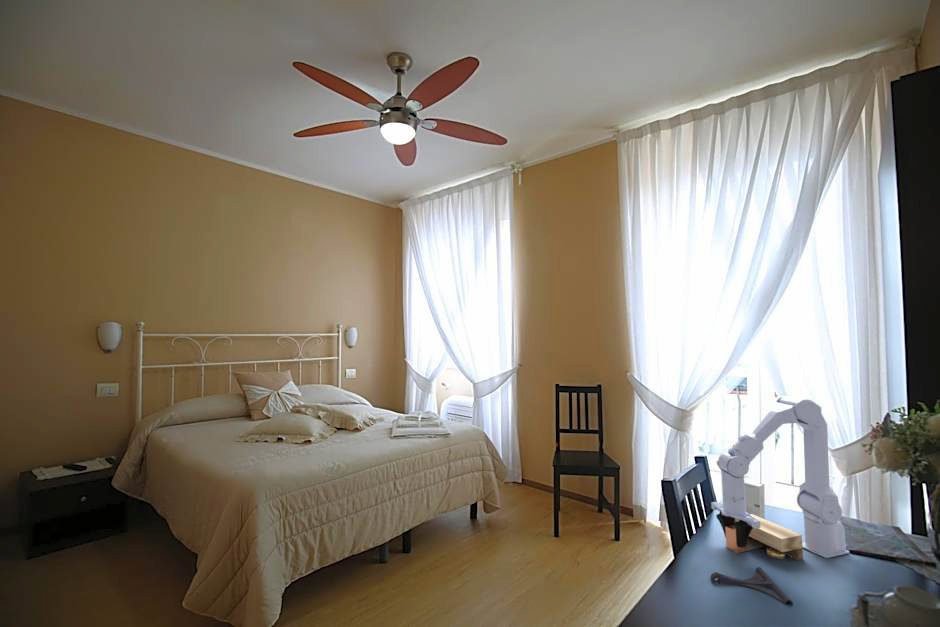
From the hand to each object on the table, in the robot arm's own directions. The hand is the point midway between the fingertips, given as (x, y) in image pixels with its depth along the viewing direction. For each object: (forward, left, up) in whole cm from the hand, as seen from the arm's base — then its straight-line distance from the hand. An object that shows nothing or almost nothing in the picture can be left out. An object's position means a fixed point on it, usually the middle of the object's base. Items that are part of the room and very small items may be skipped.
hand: (735, 543), depth 124 cm
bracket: (+13, +14, -2) cm, 20 cm away
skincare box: (-24, -14, -2) cm, 27 cm away
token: (-8, +6, -2) cm, 10 cm away
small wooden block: (-4, 0, -2) cm, 4 cm away
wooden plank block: (-9, +3, -2) cm, 9 cm away
